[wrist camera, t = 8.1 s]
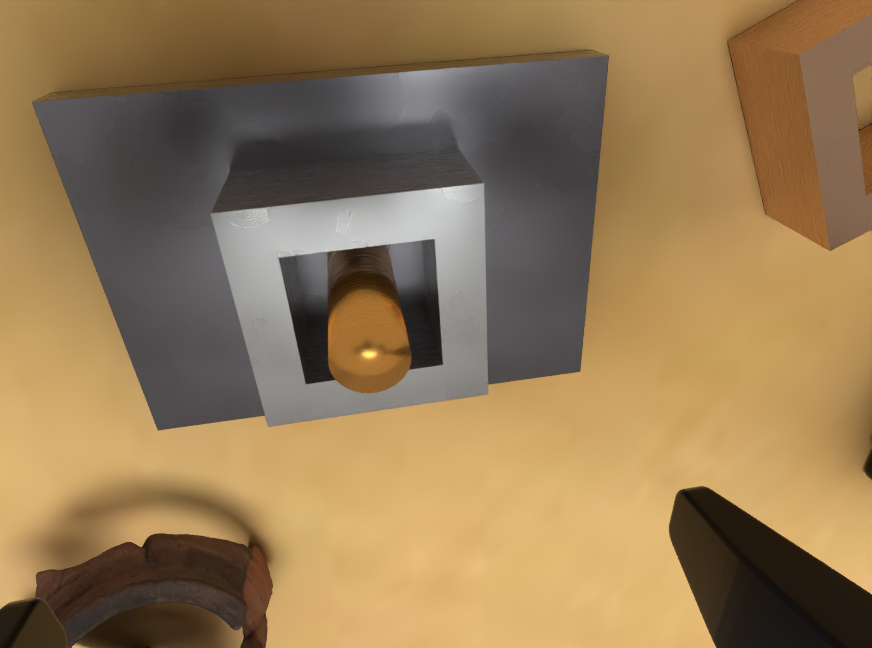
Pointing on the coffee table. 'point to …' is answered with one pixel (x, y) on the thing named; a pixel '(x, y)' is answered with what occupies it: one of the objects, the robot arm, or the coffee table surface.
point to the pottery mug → (163, 584)
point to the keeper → (344, 269)
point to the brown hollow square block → (809, 116)
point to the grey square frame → (347, 229)
